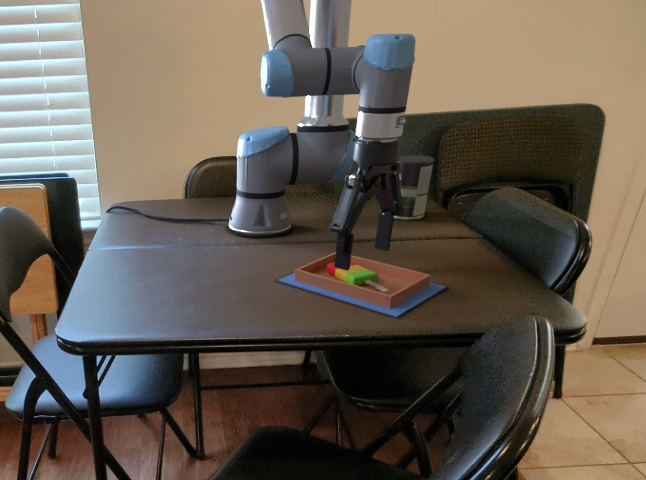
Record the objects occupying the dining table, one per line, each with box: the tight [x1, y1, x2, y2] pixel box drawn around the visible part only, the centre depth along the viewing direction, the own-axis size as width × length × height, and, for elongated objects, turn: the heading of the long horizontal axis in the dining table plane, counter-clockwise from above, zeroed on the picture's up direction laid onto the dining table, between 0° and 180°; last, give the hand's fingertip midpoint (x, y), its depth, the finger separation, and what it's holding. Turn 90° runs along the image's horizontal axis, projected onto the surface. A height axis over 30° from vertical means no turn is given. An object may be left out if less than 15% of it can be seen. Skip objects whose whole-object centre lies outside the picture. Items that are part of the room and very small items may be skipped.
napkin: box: [277, 272, 447, 318], centre depth 111 cm, size 25×18×1 cm
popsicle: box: [327, 261, 388, 292], centre depth 110 cm, size 6×15×2 cm, turn 23°
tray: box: [294, 251, 432, 309], centre depth 111 cm, size 20×14×2 cm
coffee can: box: [382, 154, 435, 221], centre depth 149 cm, size 10×10×14 cm
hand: (362, 258), depth 109 cm, fingers open, 13 cm apart
